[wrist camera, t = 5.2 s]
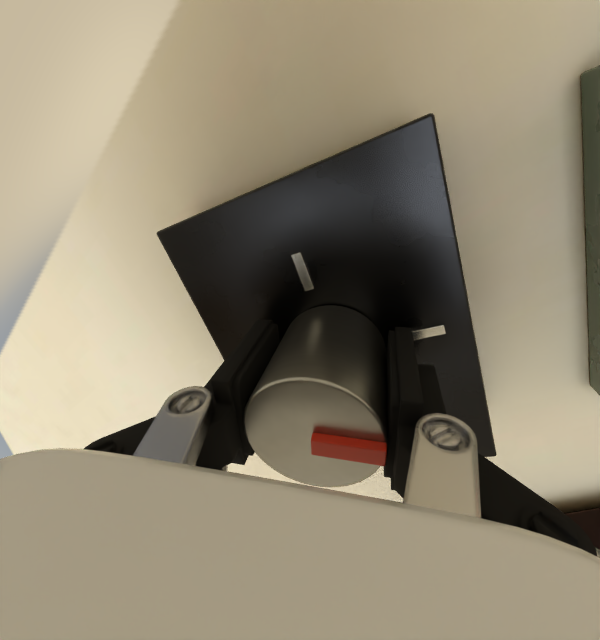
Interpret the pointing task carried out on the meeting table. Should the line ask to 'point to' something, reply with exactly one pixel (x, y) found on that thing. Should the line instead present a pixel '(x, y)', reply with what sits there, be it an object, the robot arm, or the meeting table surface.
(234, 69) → the meeting table surface
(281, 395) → the hob knob
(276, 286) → the knob base
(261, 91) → the meeting table surface
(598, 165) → the button base
